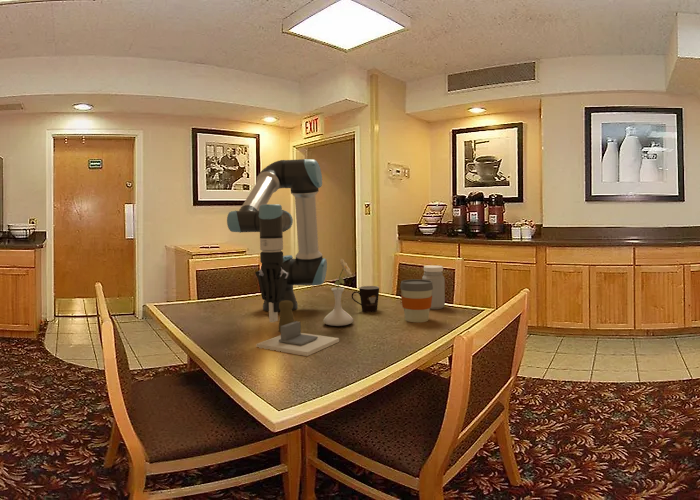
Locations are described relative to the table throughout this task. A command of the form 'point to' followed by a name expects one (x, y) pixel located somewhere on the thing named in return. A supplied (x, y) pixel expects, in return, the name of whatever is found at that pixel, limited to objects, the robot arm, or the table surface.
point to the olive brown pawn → (285, 313)
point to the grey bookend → (294, 334)
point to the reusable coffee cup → (416, 299)
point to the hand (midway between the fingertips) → (273, 321)
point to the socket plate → (299, 349)
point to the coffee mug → (368, 298)
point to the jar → (436, 285)
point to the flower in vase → (339, 303)
